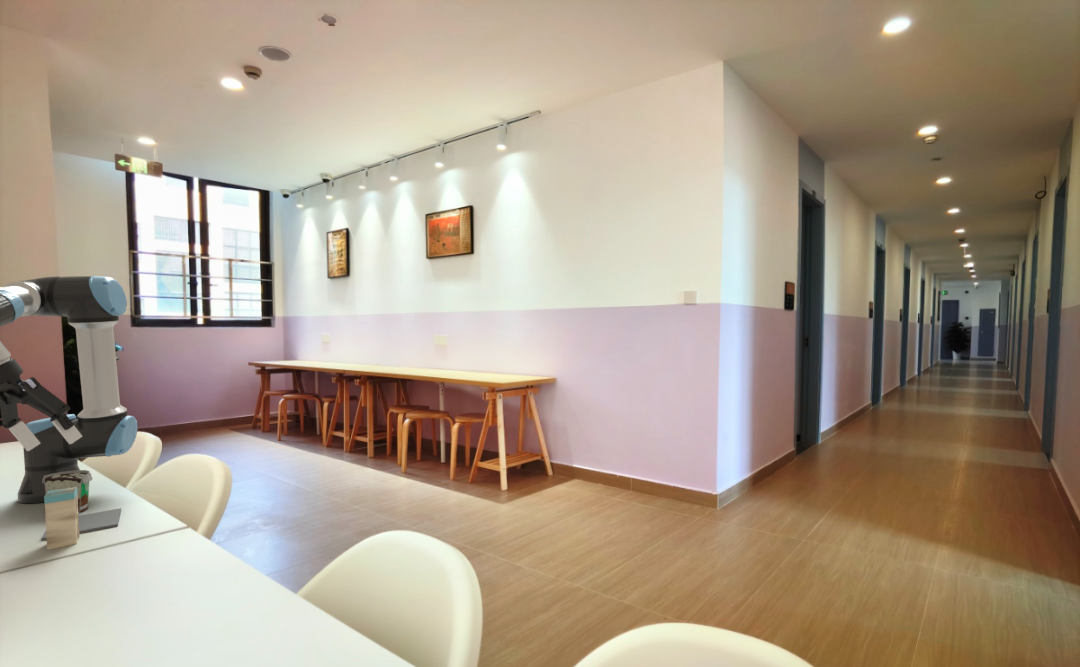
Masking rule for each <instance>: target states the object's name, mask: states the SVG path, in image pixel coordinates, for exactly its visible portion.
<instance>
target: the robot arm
mask: <svg viewBox="0 0 1080 667" xmlns="http://www.w3.org/2000/svg"><path fill="white" fill-rule="evenodd" d="M127 303H128V302H127V296H126V293H125V291H124V289H123V287H122V285H121V284H120V283H119V281H118V280H116V279H115V278H113V277H110V276H100V275H98V276H97V275H91V276H89V275H88V276H86V275H82V276H81V275H80V276H79V275H78V276H76V275H75V276H59V275H58V276H57V275H56V276H43V277H39V278H31V279H25V280H20V281H18V280H17V281H11V282H8V283H7V284H4V285H3V286H0V328H2V327H4V326H6V325H9V324H12V323H13V322H14V321H16V320H17V319H18V318H20V317H28V316H31V317H32V316H36V317H37V316H39V317H41V316H42V317H67V323H68V325H70V326H71V327H73V328H74V329H75V334H76V336H75V337H76V345H77V356H78V365H79V366H78V368H79V377H80V378H79V379H80V386H81V396H82V397H81V398H82V408H83V409H82V410H81V411H80V412H79V413H78V414H77V416H76V415H75V413H72V414H71V413H70V414H69V413H68V414H67V412H68V411H70V410H71V406H70V405H68V404H67V403H66V402H64V401H63V400H62V399H61V398H59V397H58V396H56V394H53V393H52V391H50V390H49V389H47V388H45V387H44V386H43V385H42V384H41V383H40V382H39V381H38V380H37V379H36V377H33V376H32V377H29V378H28V379H25V380H23V379H22V378H21V375H22V374H24V369H23V368H22V367H21V365H20V364H19V363H18V362H17V360H16V359H15V358H13V357H11V356H12V354H11V352H10V351H9V350H8V349H7V347H5V344H4V343H3V342H2V341H1V340H0V428H1V427H3V428H5V429H8V430H9V431H10V432H11V434H12V435H13V436H14V437H15V438H16V440H17V442H18V443H20V445H21V446H22V447H23V449H22V450H23V462H24V475H23V478H22V480H21V484H20V486H19V489H18V492H17V502H18V503H19V504H38V503H44V496H45V495H46V492H45V485H44V483H42V480H43V476H45V475H49V474H53V473H59V472H65V471H74V470H81V469H80V466H79V463H78V461H79V460H78V459H84V458H85V459H86V458H97V457H98V458H100V457H113V456H120V455H124V454H126V453H127V452H128V451H130V450H131V448H132V447H133V446H134V443H135V441H136V438H137V435H138V434H137V433H138V421H137V419H136V417H135V416H133V415H128V409H127V407H125V406H123V405H121V401H120V400H121V399H120V388H119V377H118V366H117V356H116V355H117V354H116V353H117V352H116V343H115V332H114V326H116V325H117V324H118V323H119V321H120V318H119V317H120V316H122V315H124V314H125V313H126V311H127V305H128V304H127ZM10 357H11V358H10ZM18 404H21V405H27V406H29V407H31V408H32V409H34V410H36V411H39V412H40V413H42V414H43V415H45V416H47V417H46V418H41V419H38V420H33V421H30V422H27V423H25V422H24V421H23V420H22V418H21V417H19V414H18V412H19V411H18Z"/></svg>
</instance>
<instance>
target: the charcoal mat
mask: <svg viewBox="0 0 1080 667" xmlns="http://www.w3.org/2000/svg"><path fill="white" fill-rule="evenodd" d="M121 513H122V508H121V507H120V508H115V509H108V510H104V511H98V512H93V513H92V512H91V513H85V514H81V515H78V518H79V535H81V534H85V533H91V532H95V531H99V530H105V529H110V528H115V527H119V522H120V519H121V518H120V517H121ZM40 539H41V541H42V542H43V541H47V535H46V530H45V531H44V533H43V535H42V537H41V538H40Z"/></svg>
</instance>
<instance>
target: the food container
mask: <svg viewBox="0 0 1080 667" xmlns="http://www.w3.org/2000/svg"><path fill="white" fill-rule="evenodd" d="M91 481H93V476H92V473H91V472H90V470H87V469H80V470H74V471H65V472H59V473H53V474H49V475H45V476H43V480H42V483H44V485H45V492H46V494H47V492H48V491H52V490H59V489H65V488H72V487H77V492H78V493H77V498H78V514H81V513H83V512H86V511H87V510H88V508H89V495H90V494H89V493H90V482H91Z"/></svg>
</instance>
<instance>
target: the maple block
mask: <svg viewBox="0 0 1080 667" xmlns="http://www.w3.org/2000/svg"><path fill="white" fill-rule="evenodd" d="M77 493H78V492H77V487H72V488H65V489H59V490H52V491H48V492H47V494H46V495H45V496H44V502H43V503H44V511H45V513H44V514H45V531H46V535H47V540H46V549H47V550H53V549H57V548H63V547H66V546H72V545H77V544H78V541H79V540H80V539H79V538H80V534H79V518H78V516H79V513H78V498H77Z"/></svg>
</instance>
